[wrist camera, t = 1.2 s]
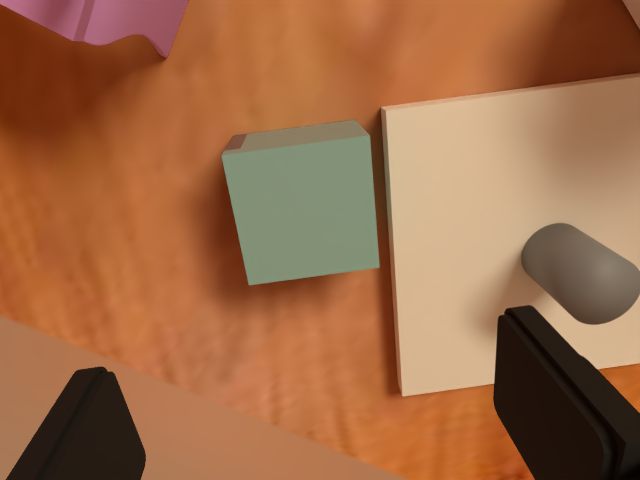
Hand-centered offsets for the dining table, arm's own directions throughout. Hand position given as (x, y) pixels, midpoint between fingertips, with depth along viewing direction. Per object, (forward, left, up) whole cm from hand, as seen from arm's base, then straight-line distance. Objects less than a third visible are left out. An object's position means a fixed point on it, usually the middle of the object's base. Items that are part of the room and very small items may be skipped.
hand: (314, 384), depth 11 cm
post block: (-6, -15, -17) cm, 24 cm away
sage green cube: (0, 0, -17) cm, 17 cm away
